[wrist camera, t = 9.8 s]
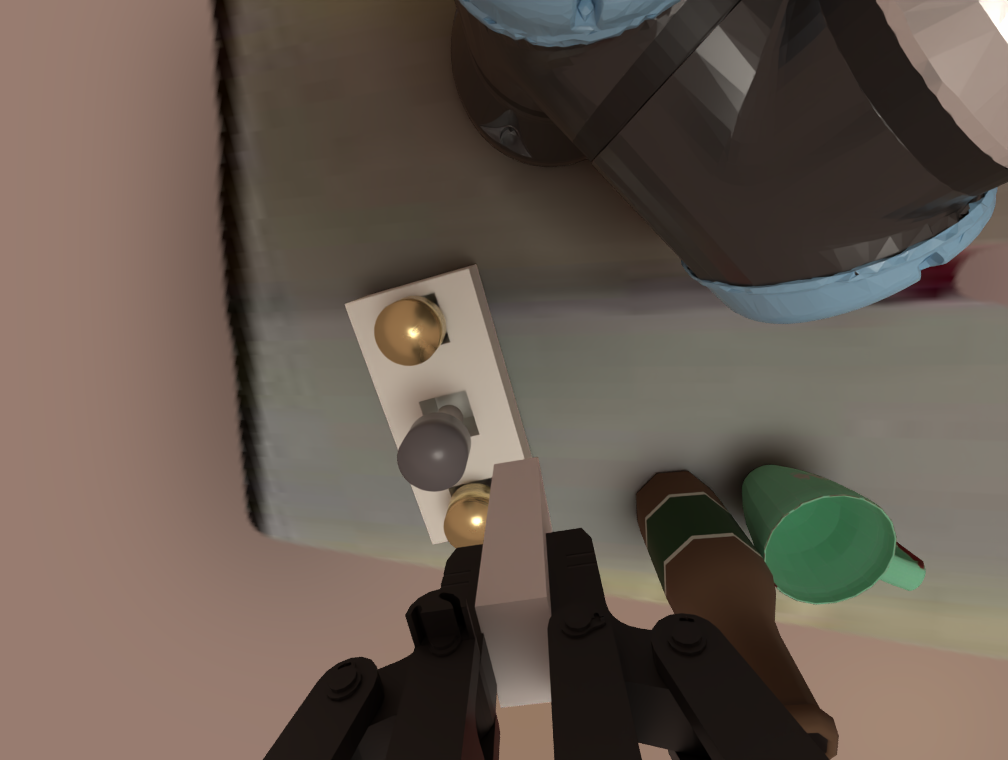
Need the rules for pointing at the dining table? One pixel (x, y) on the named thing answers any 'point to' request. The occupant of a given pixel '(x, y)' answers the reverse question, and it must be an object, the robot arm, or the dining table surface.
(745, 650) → the beer bottle
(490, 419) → the panel
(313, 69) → the dining table surface
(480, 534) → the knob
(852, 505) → the mug
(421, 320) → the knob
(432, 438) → the knob mid
